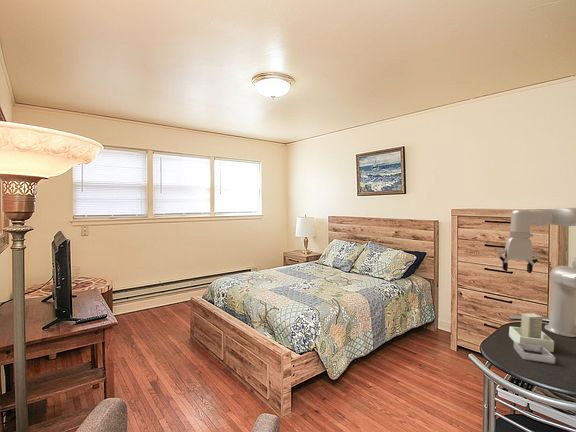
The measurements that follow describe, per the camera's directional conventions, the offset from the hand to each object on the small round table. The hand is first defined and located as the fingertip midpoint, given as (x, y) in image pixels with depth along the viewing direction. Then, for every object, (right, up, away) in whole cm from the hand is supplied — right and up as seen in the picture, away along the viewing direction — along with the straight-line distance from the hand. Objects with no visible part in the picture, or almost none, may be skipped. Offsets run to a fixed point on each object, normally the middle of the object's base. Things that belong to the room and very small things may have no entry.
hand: (517, 271), depth 152 cm
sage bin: (-4, -29, -13) cm, 32 cm away
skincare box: (-4, -29, -13) cm, 32 cm away
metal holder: (-11, -29, -24) cm, 40 cm away
